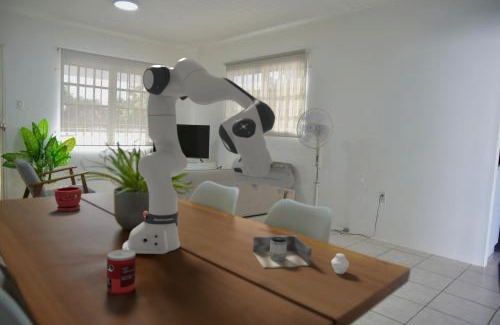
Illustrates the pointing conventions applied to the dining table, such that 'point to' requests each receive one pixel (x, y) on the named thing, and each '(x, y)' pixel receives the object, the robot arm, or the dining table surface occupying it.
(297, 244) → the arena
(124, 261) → the canned food
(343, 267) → the white rounded ceramic piece
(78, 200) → the plant pot
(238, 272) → the dining table surface
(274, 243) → the camera lens
